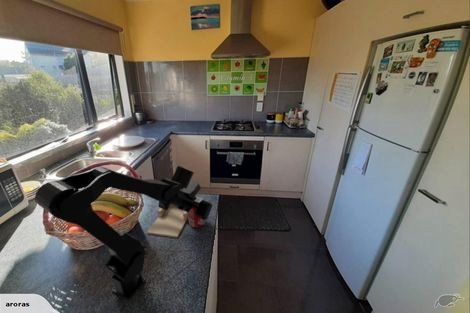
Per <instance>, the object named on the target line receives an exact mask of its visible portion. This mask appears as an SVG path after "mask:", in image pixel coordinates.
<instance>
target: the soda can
mask: <svg viewBox="0 0 470 313" xmlns="http://www.w3.org/2000/svg"><path fill="white" fill-rule="evenodd" d="M195 197H197V198H196V200H195V201H196V202H198V203H199V202H201V201H202V200H204V197H203V196H202V195H199V194H196V196H195ZM204 201H205V200H204ZM194 205H196V204H194ZM197 206H198V205H197ZM196 210H197V209H196V208H194V207H192V208H191V209H190V211H189V213H188V223H189V225H190V226H191V227H192V228H201V227H202V226H204V225H205V224H206V220H203V219H201V218H199V217H196V216H195V213H196Z"/></svg>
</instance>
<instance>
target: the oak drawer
mask: <svg viewBox="0 0 470 313" xmlns="http://www.w3.org/2000/svg"><path fill="white" fill-rule="evenodd" d="M157 213H158V217H157V218H156V220H155V221H154V223H152V224H151V226H150V228H149V229H148V230H147V232H146V234H147V235H152V236H153V235H154V236H160V237H161V236H162V237H170V238H178V237H179V236H180V234H181V233H182V230H183V229H184V227H185V225H186V223H187V221H188V220H189V218H188V212H186V211H184V210H181V209H178V208H176V207H173V206H171V205H170V206H169V208H168V210H164V209H162V208H160V207H159V209H158V210H157Z"/></svg>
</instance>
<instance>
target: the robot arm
mask: <svg viewBox="0 0 470 313" xmlns="http://www.w3.org/2000/svg"><path fill="white" fill-rule="evenodd" d="M194 174H195V172H193V171H192V170H189V169H188V168H185V167H183V166H180V165H177V167H176V169H175V171H174V173H173V176H172V177H171V179H169V178H167V177H165V178H162V179H161V178H160V179H152V178H151V179H150V178H148V179H142V178H138V177H135V176H132V175H129V174H125V173H122V172H118V171H115V170H112V169H110V168H107V167H104V166H97V167H94V168H91V169H89V170H87V171H83V172H80V173H76V174H75V173H74V174H71V175H69V176H66V177H64V178H61V179H58V180H52V181H48V182H45V183H44V184H42V185H41V186H40V187H39V188H38V189H37V191H36V193H35V196H34V202H35V203H36V205H38V206H39V207H41V208H42V209H43V210H45V212H46V211H47V212H48V213H49V214H50V215H51V216H53V217H55V218H57V219H59V220H62V221H63V222H66V223H68V224H72V225H77V226H78V227H80V228H81V229H83V230H84V231H85V232H86V233H88V234H89V235H91V236H92V237H93V238H94V239H96V240H97V241H98V242H100V243H102V244H103V245H104V246H105V247H106V248H108V253H110V255H111V256H110V258H109V259H108V261H107V262H106V264H105V268H106V269H108V271H109V272H111V273H113V276H112V277H111V279H112V282H113V287H112V288H111V290H112V292H113V293H115V294H117V295H119V296H120V297H122V298H125V300H130V299H131V298H132V296H133V295H134V294H135V293H136V292H137V290H138V289H139V288H140V287H141V286H143V284H144V282H145V281H146V277H145V276H143V273H142V272H143V268H144V263H145V257H146V254H147V251H146V249H145V248H146V247H147V246H146V245H144V244H143V243H141V241H140V240H139V239H137V238H136V237H134V236H133V235H131V234H129V233H128V232H126V231H125V232H124V233H123V235H121V233H119V232H118V231H116V230H115V229H114V228H113V227H112V226H111V225H110V224H109V223H107V222H106V221H105V220H104V219H103V218H102V217H100V215H98V214H97V213H96V212H95V211H94V209H93V208H94V207H93V205H92V204H93V203H94V202H95V201H97V199H99V197H100V196H101V195H102V194H103V193H104V192H105V191H107V190H108V189H111V188H112V189H115V190H121V191H126V192H131V193H133V194H134V193H136V194H139V195H140V194H141V195H144V196H147V197H149V198H151V199H153V200H155V201H158V208H159V209H160V208H162V209H164V210H168V208H169V206H170V205H171V206H173V207H176V208H178V209H181V210H184V211H186V212H188V213H189V211H190V209H191V208H192V207H194V208H196V209H197V210H196V213H195V216H196V217H199V218H201V219H203V220H205V221H206V220H208V218H209V215H210V214H211V211H212V209H213V204H212V202H209V201H206V200H202V201H201V202H199V203H198V202H196V201H195V200H196V198H197V197H195V196H196V195H198V193H199V191H200V190H201V189H202V187H201V185H200V184H199V182H198V181H195V180H193V179H192V178H193V176H194ZM194 204H196V205H194ZM197 205H198V206H197Z"/></svg>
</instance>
